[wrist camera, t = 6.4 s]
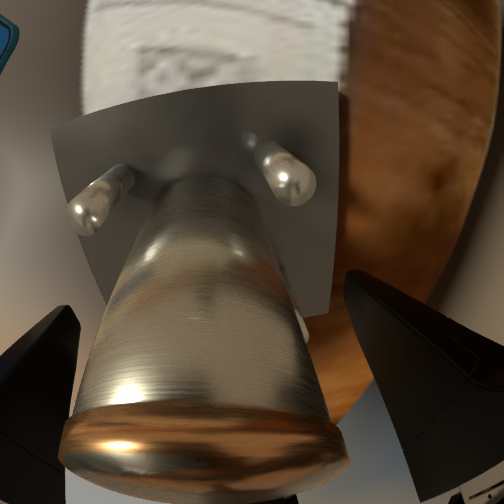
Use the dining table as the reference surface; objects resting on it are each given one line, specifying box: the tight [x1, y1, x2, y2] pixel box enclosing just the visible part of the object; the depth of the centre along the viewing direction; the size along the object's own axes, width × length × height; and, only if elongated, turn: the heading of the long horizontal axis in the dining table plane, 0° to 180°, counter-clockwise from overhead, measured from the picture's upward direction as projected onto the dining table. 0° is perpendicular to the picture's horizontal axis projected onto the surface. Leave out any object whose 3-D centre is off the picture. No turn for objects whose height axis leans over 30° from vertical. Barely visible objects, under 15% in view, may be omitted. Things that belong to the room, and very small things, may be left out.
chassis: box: [50, 81, 339, 343], centre depth 11 cm, size 12×12×5 cm
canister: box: [58, 176, 351, 504], centre depth 8 cm, size 5×5×10 cm
